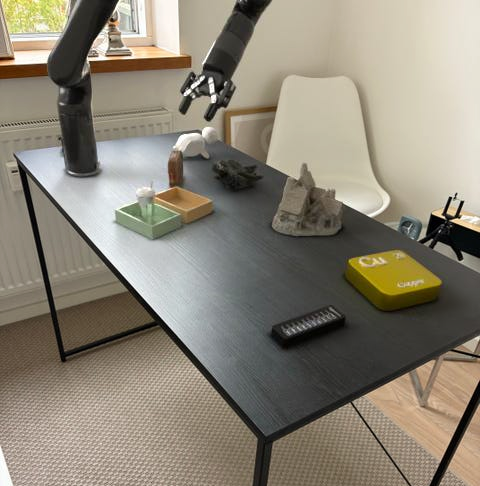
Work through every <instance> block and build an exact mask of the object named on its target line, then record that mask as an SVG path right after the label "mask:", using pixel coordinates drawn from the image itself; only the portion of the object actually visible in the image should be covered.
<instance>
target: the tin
mask: <svg viewBox="0 0 480 486" xmlns="http://www.w3.org/2000/svg"><path fill="white" fill-rule="evenodd" d="M167 175H168V185H169V189H170V188H173V187H175V186H177V187H180V188H181V186H182V182H183V178H184V157H183V156H182V151H181V150H174V149H173V150H171V153H170V155H169V158H168V161H167Z"/></svg>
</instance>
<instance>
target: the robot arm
mask: <svg viewBox="0 0 480 486" xmlns="http://www.w3.org/2000/svg"><path fill="white" fill-rule="evenodd" d="M120 1H121V0H73V3H72V6H71V9H70V12H69V15H68V17H67V20H66V23H65V24H64V27H63V30H62V32H61V34H60V35H59V37H58V38H57V41H56V42H55V44H54V46H53V47H52V50H51V51H50V53H49V54H48V57H47V60H46V70H47V74H48V76H49V78H50V80H51V82H53V83H54V84H55V85H56V86H57V87H58V92H57V94H58V95H57V99H56V107H57V109H56V110H57V115H58V120H59V121H58V122H59V127H60V133H61V135H60V136H59V137H58V138H57V141H60V143H61V153H62V154H63V155H62V156H63V161H64V168H65V170H66V173H67V174H68V175H69V176H71V177H72V176H73V177H78V178H79V177H80V178H84V177H91V176H95V175H96V174H99V173H100V166H101V163H100V161H99V156H98V147H97V141H96V131H95V122H94V114H93V113H94V112H93V84H92V73H91V66H90V62H89V59H88V57H89V55H90V52H91V49H92V47H93V45H94V43H96V40H97V39H98V37H99V36H100V35H101V33H102V32H103V30H105V27H106V26H107V25H108V23H109V21H110V20H111V19H112V17H113V16H114V14H115V12H116V10H117V8H118V6H119V3H120ZM272 2H273V0H236V1H235V4H234V6H233V8H232V11H231V13H230V15H229V17H228V18H227V19H226V21H225V23H224V24H223V27H222V29H221V31H220V32H219V34H218V35H217V37H216V38H215V40H214V42H213V44H212V46H211V48H210V49H209V51H208V53H207V54H206V55H207V56H206V57H205V59H204V61H203V62H202V71H201V73H199V74H196V73H195V72H194V71H193V70H192V71H190V72H189V74H188V76H187V77H186V79H185V81H184V83H182V86H181V87H180V90H179V93H180V94H181V95H182V96H183V98H182V100H181V102H180V104H179V106H178V112H179V113H180V114H181V115H183V116H185V115H186V114H187V113H188V111H189V109H190V107H191V105H192V102H193V101H194V100H196V99H200V98H202V96H203V97H209V98H211V103H209V104H208V106H207V108H206V110H205V112H204V114H203V119H204V120H205V122H208V123H210V122H211V121H212V120H213V119H214V118H215V115H216V114H217V112H218V110H220V109H222V108H224V109H227V108H228V107H229V104H230V102H231V101H232V98H233V96H234V93H235V92H236V90H237V86H236V84H235V83H234V82H233V80H232V79H233V76H234V74H235V73H236V71H237V68H238V66H240V63H241V61H242V59H243V56H244V55H245V54H244V53H245V52H246V49H247V47H248V45H249V43H250V42H251V40H252V37H253V35H254V32H255V27H256V25H257V24H258V22H259V20H260V19H261V17H262V15H263V14H264V12H265V11H266V10H267V9H268V8H269V6H271V3H272Z"/></svg>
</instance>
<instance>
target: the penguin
mask: <svg viewBox="0 0 480 486" xmlns="http://www.w3.org/2000/svg"><path fill="white" fill-rule="evenodd" d="M218 139H219V134H218V131H217V129H216V128H214V127H212V126H206V127H205V128H204V129H203V130H202V132H201V134H200V133H198V132H192V133H187V134H182V135H180V136H179V137H178V139H177V142H176V143H175V145H174V146H172V148H173V151H174V150H181V151H182V156H183V158H186V157H187V158H188V157H195V156H198V155H199V154H200V155H201V156H203V157H204V158H205V159H207V160H209V159H210V155H209V153H208V151H206V145H212V144H214V143H216V142H217V141H218Z"/></svg>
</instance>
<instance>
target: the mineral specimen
mask: <svg viewBox="0 0 480 486" xmlns="http://www.w3.org/2000/svg"><path fill="white" fill-rule="evenodd" d="M257 168H258V165H257V164H256V163H255V164H253V165H242V163H239V162H238V161H236V160H235V159H233V158H232V159H227V160H218V161H217V162H216V163H215V162H213V163H212V164H211V168H210V171H211V174H215V175H214V176H213V179H214V180H217V181H218V182H221V183H223V184H224V187H225V188H226V189H229V190H231V191H232V190H233V191H234V190H240V189H242V188H250V187H252V186H253V184H255V183H256V182H259V181H260V180H262V179H264V175H261V174H259V175H258V173H257V172H255V171H256V169H257Z"/></svg>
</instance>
